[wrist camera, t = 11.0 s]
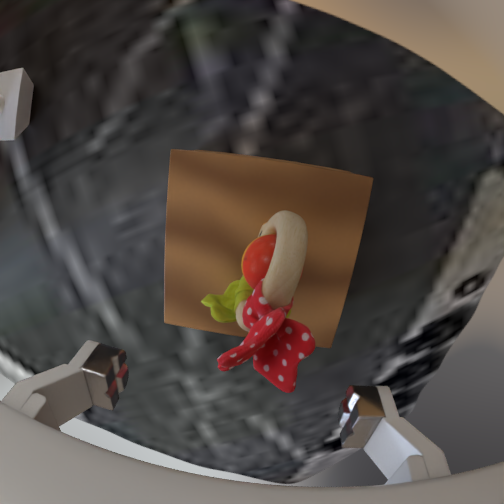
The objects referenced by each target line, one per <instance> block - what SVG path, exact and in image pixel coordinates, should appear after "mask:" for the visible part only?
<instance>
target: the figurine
mask: <svg viewBox="0 0 504 504" xmlns="http://www.w3.org/2000/svg"><path fill="white" fill-rule="evenodd" d="M33 89H34V84H33V83H32V81H31V80H30V78H29V76H28V75H27V73H26V72H25V70H24V68H19V69H15V70H10V71H5V72H1V73H0V140H15V139H16V138H17V137H18V136H19V135H20V134H21V132H22V131H23V130H24V129H25V128H26V127H27V126H28V125H29V122H30V112H31V103H32V96H33Z"/></svg>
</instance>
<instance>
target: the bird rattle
mask: <svg viewBox="0 0 504 504" xmlns="http://www.w3.org/2000/svg"><path fill="white" fill-rule="evenodd" d="M307 244H308V231H307V226H306V223H305V221H304V220H303V218H302V217H301V216H299V215H298V214H296V213H293V212H291V211H287V210H284V211H279V212H277V213H276V214H275V215H273V216H272V217H271V218H270V219H269V221H268V222H266V223H264V224H263V225H262V227H261V229H260V232H259V235H258V238H257V239H255V240H253V241H252V242H251V243H250V244H249V245H248V246H247V248H246V250H245V251H244V254H243V257H242V262H241V268H242V273H243V276H242V278H241V279H240V280H236V281H234V282H232V283H231V284H230V285H229V286H228V288H227V289H226V291H225V293H224V294H223V295H214V294H208V295H207V296H206V297H205V298H204V299H203V300H202V301H201V302H202V303H203V304H204V305H205V306H208V307H211V315H212V317H213V318H214V319H215V320H216V321H218V322H222V323H228V322H235V321H237V323H238V324H239V326H240V327H241V328H242V329H243V330H245V331H248V335H247V336H246V338H245V339H244V341H243V342H242V343H241V344H240V345H239V346H238V347H235V348H233V349H231V350H229V351H227V352H225V353H223V354H222V355H221V356H219V357H218V359H217V361H218V363H219V365H218V368H219V369H220V370H221V371H228V370H230V369H232V368H233V367H234V366H237V365H240V364H242V363H244V362H245V361H247V360H248V359H249V358H250V357H251V356H252V355H253V365H254V369H255V370H257V371H258V372H259V373H260V374H262V375H263V376H264V377H266V378H267V379H268V380H269V381H270V382H271V383H273V384H274V385H275V386H276V387H277V388H279V389H280V390H281V391H284V392H286V393H290V392H293V391H294V389H295V387H296V378H297V366H298V364H299V362H300V361H301V360H303V359H304V358H306V357H308V356H309V355H310V354H311V353H312V352H313V351H314V349H315V344H316V343H315V339H314V337H313V335H312V333H311V331H310V329H309V328H308V327H307V326H305V325H304V324H302V323H300V322H298V321H295V320H293V319H289V318H288V317H289V316H290V313H291V308H292V306H293V295H294V292H295V290H296V287H297V285H298V282H299V280H300V278H301V276H302V273H303V266H304V262H305V257H306V252H307Z"/></svg>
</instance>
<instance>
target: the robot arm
mask: <svg viewBox="0 0 504 504" xmlns="http://www.w3.org/2000/svg"><path fill="white" fill-rule="evenodd" d="M126 359H127V357H126V352H125V351H124V350H122V349H118V348H115V347H112V346H108V345H105V344H102V343H97V342H94V341H91V340H89V341H86V343H85V344H84V345H83V346H82V348H81V349H80V350H79V351H78V353H77V354H76V355H75V356H74V358H73V359H72V360H71V361H70V363H69V364H68V365H67V364H63V365H60V366H58V367H55V368H53V369H50V370H48V371H45V372H42V373H40V374H37V375H35V376H32V377H29V378H27V379H24V380H21V381H19V382H17V383H16V384H15V385H14V386H13V387H12V389H11V390H10V391H9V392H8V393H7V395H6V396H5V397H4V398H3V400H2V401H0V504H504V462H500V463H497V464H493V465H490V466H486V467H483V468H479V469H475V470H471V471H467V472H463V473H458V474H454V475H451V473H450V470H449V467H448V464H447V461H446V458H445V455H444V452H443V451H442V450H441V449H440V448H439V447H438V446H436V445H435V444H434V443H433V442H432V441H430V440H429V439H428V438H427V437H426V436H424V435H423V434H422V433H421V432H420V431H418V430H417V429H416V428H415V427H414V426H413V425H411V424H410V423H409V422H408V421H407V420H405V419H404V418H403V417H399V414H398V411H397V408H396V405H395V402H394V400H393V397H392V394H391V391H390V388H389V387H388V386H356V385H350V386H349V387H348V388H347V391H346V397H347V398H345V399H344V400H342V402H341V404H340V407H339V412H338V422H339V425H340V426H341V427H342V428H343V429H342V431H341V433H340V437H341V444H342V447H346V448H363V449H364V450H365V452H366V453H367V454H368V455H369V457H370V458H371V459H372V460H373V462H374V463H375V464H376V465H377V466H378V468H379V469H380V470H381V471H382V473H383V474H384V475H385V476H386V478H387V479H388V481H387V482H386V483H385V484H384V485H373V486H358V487H357V486H356V487H297V486H280V485H268V484H258V483H249V482H240V481H234V480H227V479H220V478H214V477H209V476H203V475H198V474H193V473H188V472H184V471H179V470H175V469H171V468H167V467H163V466H159V465H155V464H151V463H148V462H144V461H141V460H137V459H134V458H131V457H127V456H124V455H121V454H118V453H115V452H112V451H109V450H106V449H103V448H100V447H98V446H95V445H92V444H90V443H87V442H84V441H82V440H80V439H77V438H75V437H72V436H70V435H67V434H65V433H63V432H61V430H60V428H59V426H61V425H62V424H64V423H66V422H67V421H69V420H71V419H72V418H74V417H75V416H77V415H79V414H80V413H82V412H84V411H85V410H87V409H88V408H90V407H92V406H93V405H96V406H99V407H103V408H106V409H109V410H114V408H115V406H116V404H117V402H118V400H119V394H118V393H119V392H121V391H123V390H124V389H125V387H126V385H127V381H128V376H129V371H128V367H127V365H126V364H125V363H124V362H125V361H126Z"/></svg>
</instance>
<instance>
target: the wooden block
mask: <svg viewBox="0 0 504 504" xmlns="http://www.w3.org/2000/svg"><path fill="white" fill-rule="evenodd" d="M372 184H373V178H372V177H368V176H363V175H358V174H353V173H351V172H349V171H344V170H339V169H334V168H328V167H323V166H317V165H311V164H305V163H299V162H292V161H286V160H279V159H272V158H265V157H258V156H250V155H242V154H233V153H225V152H215V151H205V150H193V151H192V150H180V149H171V155H170V167H169V180H168V195H167V212H166V235H165V272H164V322H165V323H168V324H173V325H178V326H183V327H188V328H194V329H199V330H205V331H211V332H216V333H222V334H228V335H235V336H241V337H246V336H247V335H248V331H245V330H243V329H242V328H241V327H240V326H239V324H238V323H237V321H235V322H228V323H222V322H218V321H216V320H215V319H214V318H213V317H212V315H211V307H208V306H205V305H204V304H203V303H202V302H201V301H202V300H203V299H204V298H205V297H206V296H207V295H208V294H214V295H223V294H224V293H225V291H226V289H227V288H228V286H229V285H230V284H231V283H232V282H234V281H236V280H240V279H241V278H242V276H243V273H242V268H241V262H242V257H243V254H244V251H245V250H246V248H247V246H248V245H249V244H250V243H251V242H252V241H253V240H255V239H257V238H258V235H259V232H260V229H261V227H262V225H263V224H264V223H266V222H268V221H269V219H270V218H271V217H272V216H273V215H275V214H276V213H277V212H279V211H284V210H287V211H291V212H293V213H296V214H298V215H299V216H301V217H302V218H303V220H304V221H305V223H306V226H307V231H308V244H307V252H306V257H305V262H304V266H303V273H302V276H301V278H300V280H299V282H298V285H297V287H296V290H295V292H294V295H293V306H292V308H291V313H290V316H289V317H288V318H289V319H293V320H295V321H298V322H300V323H302V324H304V325H305V326H307V327H308V328H309V329H310V331H311V333H312V335H313V337H314V339H315V343H316V344H315V346H316V347H326V348H331V346H332V343H333V339H334V336H335V333H336V330H337V326H338V323H339V320H340V316H341V313H342V309H343V306H344V302H345V299H346V295H347V292H348V288H349V284H350V280H351V277H352V273H353V269H354V265H355V261H356V257H357V253H358V249H359V245H360V240H361V236H362V232H363V227H364V223H365V218H366V214H367V209H368V204H369V199H370V194H371V189H372Z"/></svg>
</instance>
